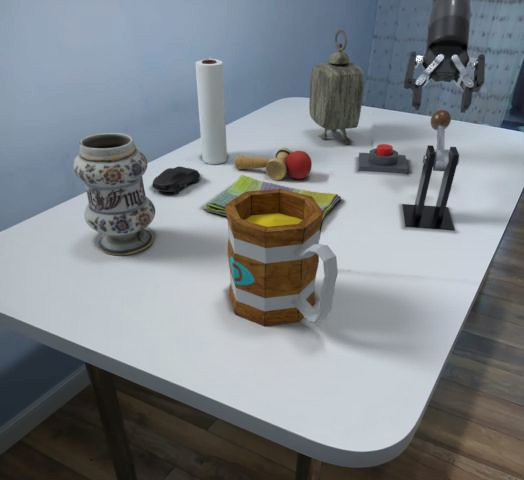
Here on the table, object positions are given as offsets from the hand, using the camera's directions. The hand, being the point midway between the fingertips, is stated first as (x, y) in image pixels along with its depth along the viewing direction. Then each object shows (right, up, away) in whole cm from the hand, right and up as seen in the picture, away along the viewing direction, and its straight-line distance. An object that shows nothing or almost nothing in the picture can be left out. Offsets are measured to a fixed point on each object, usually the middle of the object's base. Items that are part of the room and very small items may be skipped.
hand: (440, 109), depth 93 cm
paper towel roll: (-45, +1, +28) cm, 53 cm away
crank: (-1, -8, -1) cm, 8 cm away
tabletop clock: (-15, +11, +40) cm, 44 cm away
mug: (-31, -40, -19) cm, 53 cm away
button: (-6, 0, +21) cm, 22 cm away
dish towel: (-31, -17, +7) cm, 36 cm away
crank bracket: (-2, -21, +3) cm, 21 cm away
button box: (-6, -3, +23) cm, 24 cm away
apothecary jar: (-59, -26, -3) cm, 64 cm away
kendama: (-31, -5, +21) cm, 38 cm away
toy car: (-53, -9, +16) cm, 56 cm away
